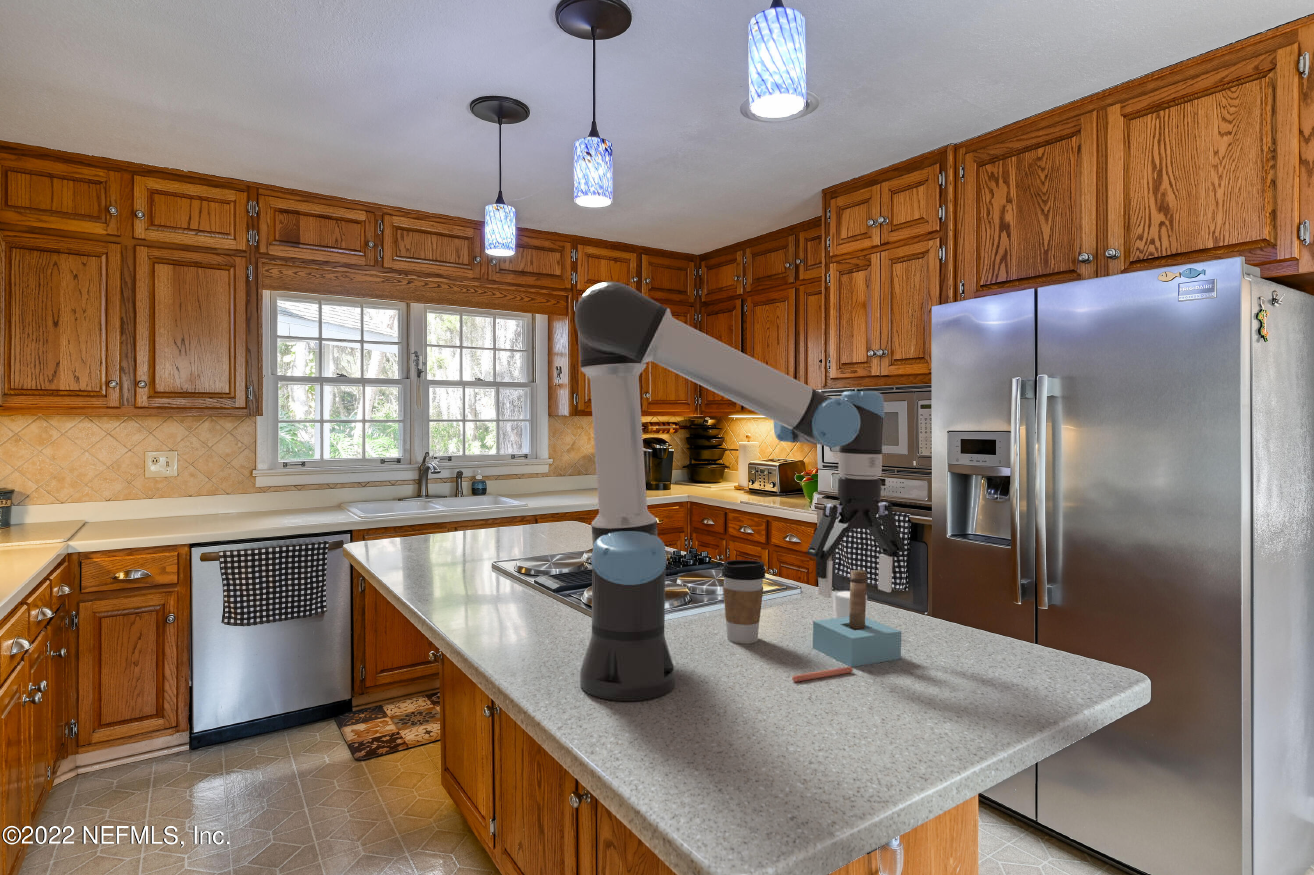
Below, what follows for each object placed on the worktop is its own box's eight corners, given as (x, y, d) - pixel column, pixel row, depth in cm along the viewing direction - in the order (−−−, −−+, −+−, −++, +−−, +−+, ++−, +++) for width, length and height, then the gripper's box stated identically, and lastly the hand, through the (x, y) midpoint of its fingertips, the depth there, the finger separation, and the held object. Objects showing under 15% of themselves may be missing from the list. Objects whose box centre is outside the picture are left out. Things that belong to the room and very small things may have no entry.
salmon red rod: (794, 683, 115) (794, 677, 115) (790, 681, 116) (790, 675, 116) (853, 673, 120) (854, 667, 120) (850, 671, 121) (850, 665, 121)
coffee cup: (750, 648, 132) (752, 568, 132) (711, 639, 137) (713, 562, 137) (772, 637, 139) (773, 561, 138) (734, 629, 144) (735, 555, 143)
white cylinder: (870, 633, 142) (871, 598, 142) (835, 632, 143) (836, 598, 142) (861, 623, 149) (862, 590, 149) (828, 622, 149) (829, 589, 149)
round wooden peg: (855, 656, 128) (857, 573, 128) (844, 651, 131) (846, 570, 131) (868, 654, 130) (870, 572, 129) (857, 650, 132) (859, 569, 132)
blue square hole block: (851, 667, 123) (851, 638, 123) (812, 647, 133) (813, 621, 133) (900, 659, 128) (901, 631, 127) (859, 640, 138) (860, 615, 137)
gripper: (815, 479, 121) (811, 604, 121) (927, 478, 131) (922, 593, 132) (790, 475, 128) (785, 593, 128) (898, 474, 138) (893, 583, 138)
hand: (855, 593), depth 130 cm, fingers open, 13 cm apart
